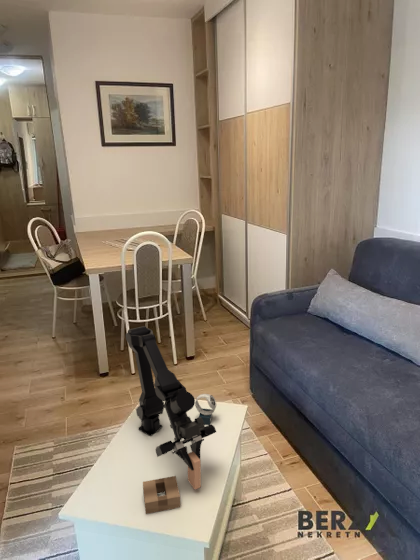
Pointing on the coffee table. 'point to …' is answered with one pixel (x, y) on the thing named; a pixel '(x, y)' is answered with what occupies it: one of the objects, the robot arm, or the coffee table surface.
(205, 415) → the watch
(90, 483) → the coffee table surface
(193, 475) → the rectangular block
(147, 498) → the slot box
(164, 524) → the coffee table surface
